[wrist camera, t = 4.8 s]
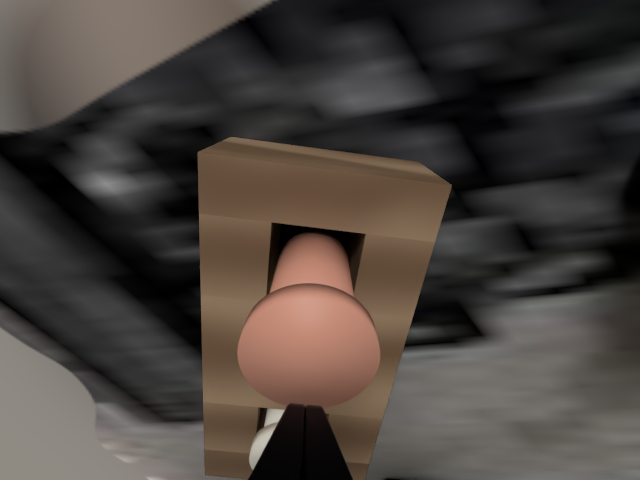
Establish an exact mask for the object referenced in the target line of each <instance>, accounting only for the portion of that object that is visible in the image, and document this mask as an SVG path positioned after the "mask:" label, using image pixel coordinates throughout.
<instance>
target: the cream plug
mask: <svg viewBox="0 0 640 480" xmlns="http://www.w3.org/2000/svg"><path fill="white" fill-rule="evenodd" d="M284 411H285V410H282V409H272V408H267V413H266V419H265V424H264V428H262V429H261V430H259V431H258V432H257V433H256V435H255V436H254V438H253V441H252V446H251V451H250V456H249V463H250V466H251V468H252V470H253V469H254V467H255V466H256V464H257V462H258V460H259V458H260V456H261V454H262V452H263V450H264V448H265V447H266V445H267V443H268V441H269V439H270V437H271V435H272V433H273V431H274V430H275V428H276V426H277V424H278V422H279V420H280V418H281V416H282V414H283V412H284Z"/></svg>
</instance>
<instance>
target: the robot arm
mask: <svg viewBox="0 0 640 480" xmlns="http://www.w3.org/2000/svg"><path fill="white" fill-rule="evenodd" d="M248 480H353V478H352V476H351V473H350V471H349V468H348V466H347V464H346V461H345V459H344V456H343V454H342V452H341V449H340V447H339V444H338V442H337V440H336V437H335V435H334V432H333V430H332V428H331V425H330V423H329V420H328V418H327V416H326V413H325V411H324V409H323V407H322V406H320V405H310V404H308V405H306V407H305V405H304V404H299V403H289V404H288V405H287V407H286V409H285V411H284V412H283V414H282V416H281V418H280V420H279V422H278V424H277V426H276V428H275V430H274V431H273V433H272V435H271V437H270V439H269V441H268V443H267V445H266V447H265V448H264V450H263V452H262V454H261V456H260V458H259V460H258V462H257V464H256V466H255V467H254V469H253V471H252V473H251V475H250V477H249V479H248ZM386 480H399V479H386Z"/></svg>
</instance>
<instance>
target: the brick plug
mask: <svg viewBox="0 0 640 480" xmlns="http://www.w3.org/2000/svg"><path fill="white" fill-rule="evenodd" d="M237 355H238V362H239V366H240V369H241V371H242V373H243V375H244V377H245V379H246V380H247V381H248V383H249V384H250V385H251V386H252V387H253V388H254V389H255V390H256V391H257V392H259V393H260V394H261V395H263V396H265V397H266V398H268V399H270V400H272V401H274V402H276V403H279V404H282V405H285V406H287V405H288V404H289V403H299V404H304V405H305V407H306V405H308V404H310V405H320V406H322V407H323V408H327V407H332V406H336V405H338V404H341V403H344V402H346V401H348V400H350V399H352V398H354V397H355V396H357V395H358V394H360V393H361V392H362V391H363V390H364V389H365V388H366V387H367V386H368V385H369V384H370V383H371V381H372V380H373V378H374V377H375V375H376V373H377V370H378V367H379V363H380V347H379V342H378V337H377V333H376V329H375V325H374V322H373V319H372V317H371V315H370V314H369V312H368V311H367V309H366V308H365V307H364V306H363V305H362V304H361V303H360V302H359V301H358V300H357V299H356V298H354V293H353V287H352V280H351V274H350V268H349V261H348V256H347V253H346V250H345V248H344V247H343V245H342V244H341V243H340V242H339V241H338V240H337V239H336V238H334V237H333V236H331V235H329V234H327V233H323V232H318V231H308V232H303V233H300V234H298V235H296V236H294V237H292V238H291V239H290V240H289V241H288V242H287V243H286V244H285V245H284V247H283V248H282V250H281V253H280V256H279V260H278V264H277V267H276V271H275V275H274V279H273V283H272V286H271V290H270V294H268V295H266V296H265V297H264V298H262V299H261V300H260V301H259V302H258V303H257V304H256V305H255V306H254V307H253V309H252V310H251V311H250V313H249V315H248V317H247V319H246V322H245V325H244V328H243V331H242V334H241V336H240V340H239V343H238V350H237Z"/></svg>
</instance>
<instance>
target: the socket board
mask: <svg viewBox="0 0 640 480" xmlns="http://www.w3.org/2000/svg"><path fill="white" fill-rule="evenodd" d="M451 187H452V185H451V184H449V183H448V182H446V181H445V180H444V179H442V178H441V177H439V176H438V175H436V174H435V173H434V172H432V171H431V170H429V169H428V168H426V167H425V166H423V165H422V164H421V163H419V162H416V161H408V160H401V159H393V158H386V157H378V156H371V155H363V154H356V153H348V152H340V151H333V150H325V149H318V148H310V147H303V146H295V145H288V144H280V143H273V142H265V141H258V140H250V139H243V138H235V137H230V138H228V139H225V140H223V141H221V142H219V143H217V144H215V145H212V146H210V147H208V148H206V149H204V150H202V151H199V152H198V188H199V233H200V278H201V323H202V368H203V413H204V458H205V475H208V476H219V477H231V478H243V479H249V477H250V475H251V473H252V471H253V470H252V468H251V466H250V463H249V456H250V451H251V446H252V441H253V438H254V436H255V435H256V433H257V432H258V431H259V430H261V429H262V428H264V424H265V419H266V413H267V408H272V409H282V410H285V409H286V407H287V406H285V405H282V404H279V403H276V402H274V401H272V400H270V399H268V398H266V397H265V396H263V395H261V394H260V393H259V392H257V391H256V390H255V389H254V388H253V387H252V386H251V385H250V384H249V383H248V381H247V380H246V379H245V377H244V375H243V373H242V371H241V369H240V366H239V362H238V355H237V350H238V343H239V340H240V336H241V334H242V331H243V328H244V325H245V322H246V319H247V317H248V315H249V313H250V311H251V310H252V309H253V307H254V306H255V305H256V304H257V303H258V302H259V301H260V300H261V299H262V298H264V297H265V296H266V295H268V294H270V290H271V286H272V283H273V279H274V275H275V271H276V267H277V264H278V260H279V256H280V254H279V245H280V233H281V224H289V225H297V226H306V227H314V228H322V229H330V230H338V231H347V232H349V236H348V242H347V247H346V253H347V256H348V261H349V268H350V274H351V280H352V287H353V293H354V298H356V299H357V300H358V301H359V302H360V303H361V304H362V305H363V306H364V307H365V308H366V309H367V311H368V312H369V314H370V315H371V317H372V319H373V322H374V325H375V329H376V333H377V337H378V342H379V347H380V363H379V367H378V370H377V373H376V375H375V377H374V378H373V380H372V381H371V383H370V384H369V385H368V386H367V387H366V388H365V389H364V390H363V391H362V392H361V393H360V394H358V395H357V396H355V397H354V398H352V399H350V400H348V401H346V402H344V403H341V404H338V405H336V406H332V407H327V408H323V409H324V411H325V413H326V416H327V418H328V420H329V423H330V425H331V428H332V430H333V432H334V435H335V437H336V440H337V442H338V444H339V447H340V449H341V452H342V454H343V456H344V459H345V461H346V464H347V466H348V468H349V471H350V473H351V476H352V478H353V480H365V476H366V473H367V470H368V466H369V463H370V460H371V456H372V453H373V449H374V446H375V443H376V439H377V436H378V433H379V429H380V426H381V422H382V419H383V416H384V412H385V409H386V406H387V402H388V399H389V396H390V392H391V389H392V385H393V382H394V379H395V375H396V372H397V369H398V365H399V362H400V358H401V355H402V352H403V348H404V345H405V342H406V338H407V335H408V331H409V328H410V325H411V321H412V318H413V315H414V311H415V308H416V305H417V301H418V298H419V294H420V291H421V288H422V284H423V281H424V278H425V274H426V271H427V267H428V264H429V261H430V257H431V254H432V251H433V247H434V244H435V240H436V237H437V234H438V230H439V227H440V224H441V220H442V217H443V214H444V210H445V207H446V203H447V200H448V197H449V193H450V190H451Z"/></svg>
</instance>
